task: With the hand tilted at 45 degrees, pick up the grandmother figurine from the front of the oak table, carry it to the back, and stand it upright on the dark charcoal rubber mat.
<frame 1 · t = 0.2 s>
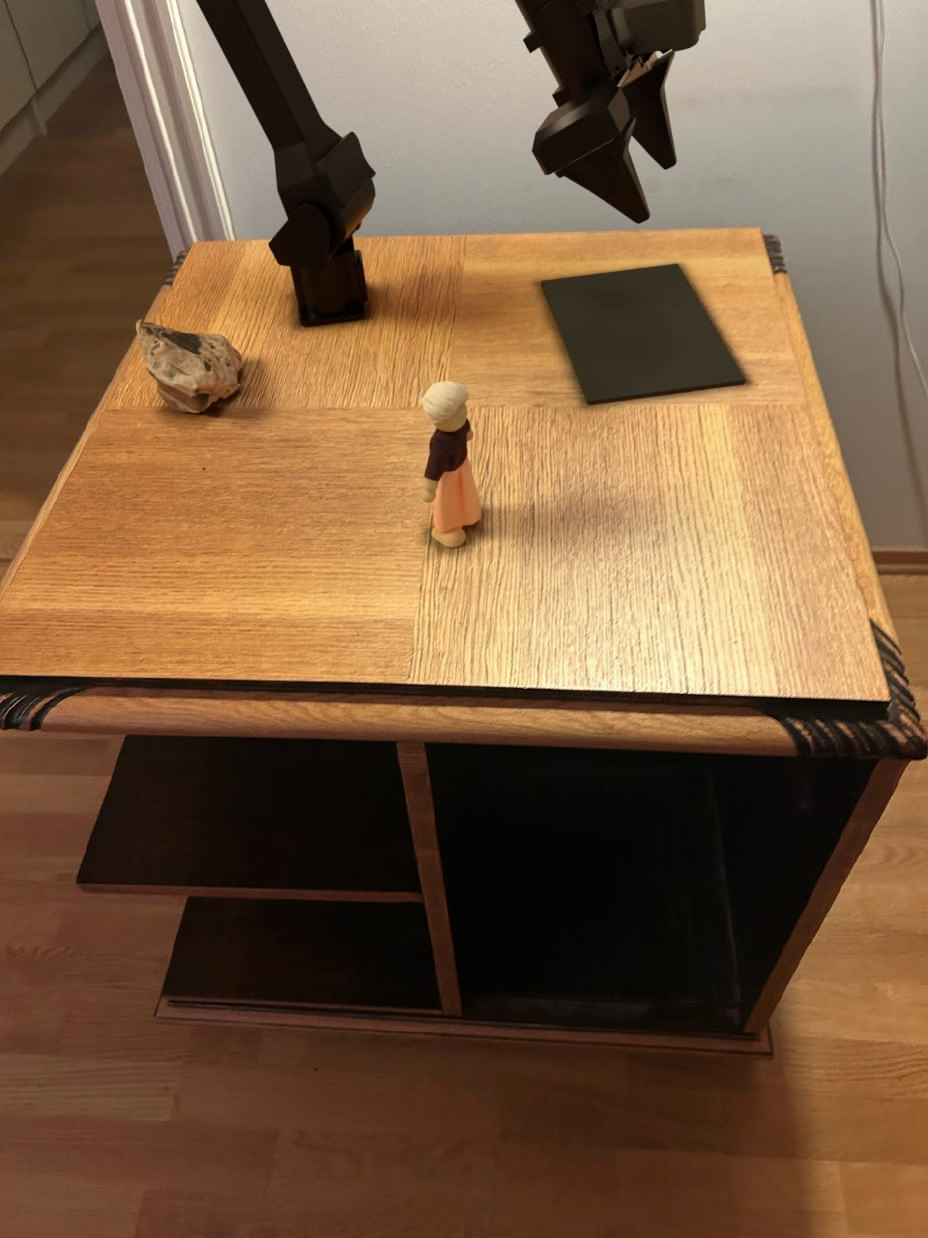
hand: (658, 192, 72), 15 cm above the cabinet, tool tilted 35°, fingers open, 9 cm apart
grandmother figurine: (457, 523, 71), on the cabinet
rock: (206, 395, 83), on the cabinet
mat: (635, 330, 86), on the cabinet
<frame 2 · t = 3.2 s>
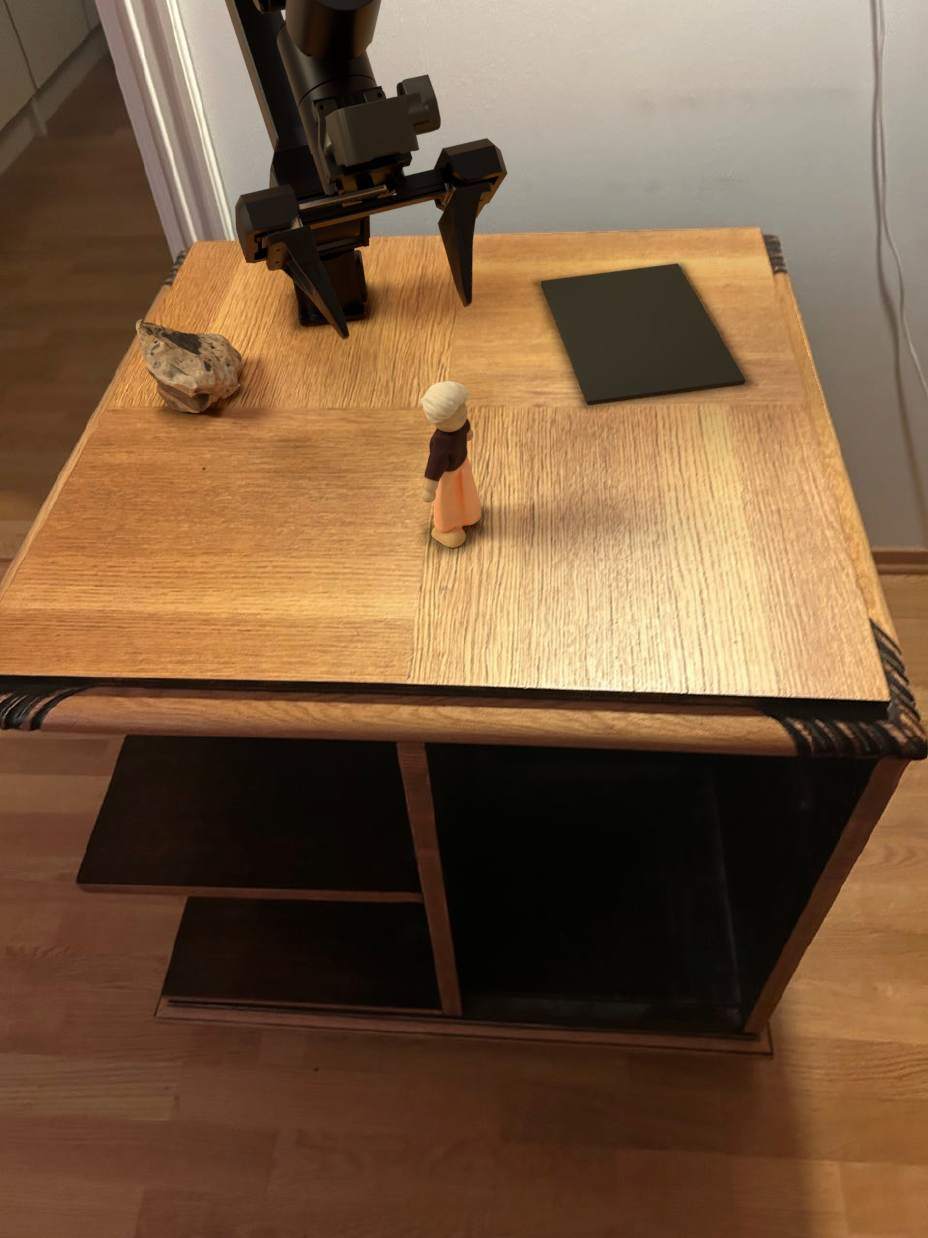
hand: (408, 321, 65), 13 cm above the cabinet, tool tilted 45°, fingers open, 9 cm apart
nothing on the cabinet moved.
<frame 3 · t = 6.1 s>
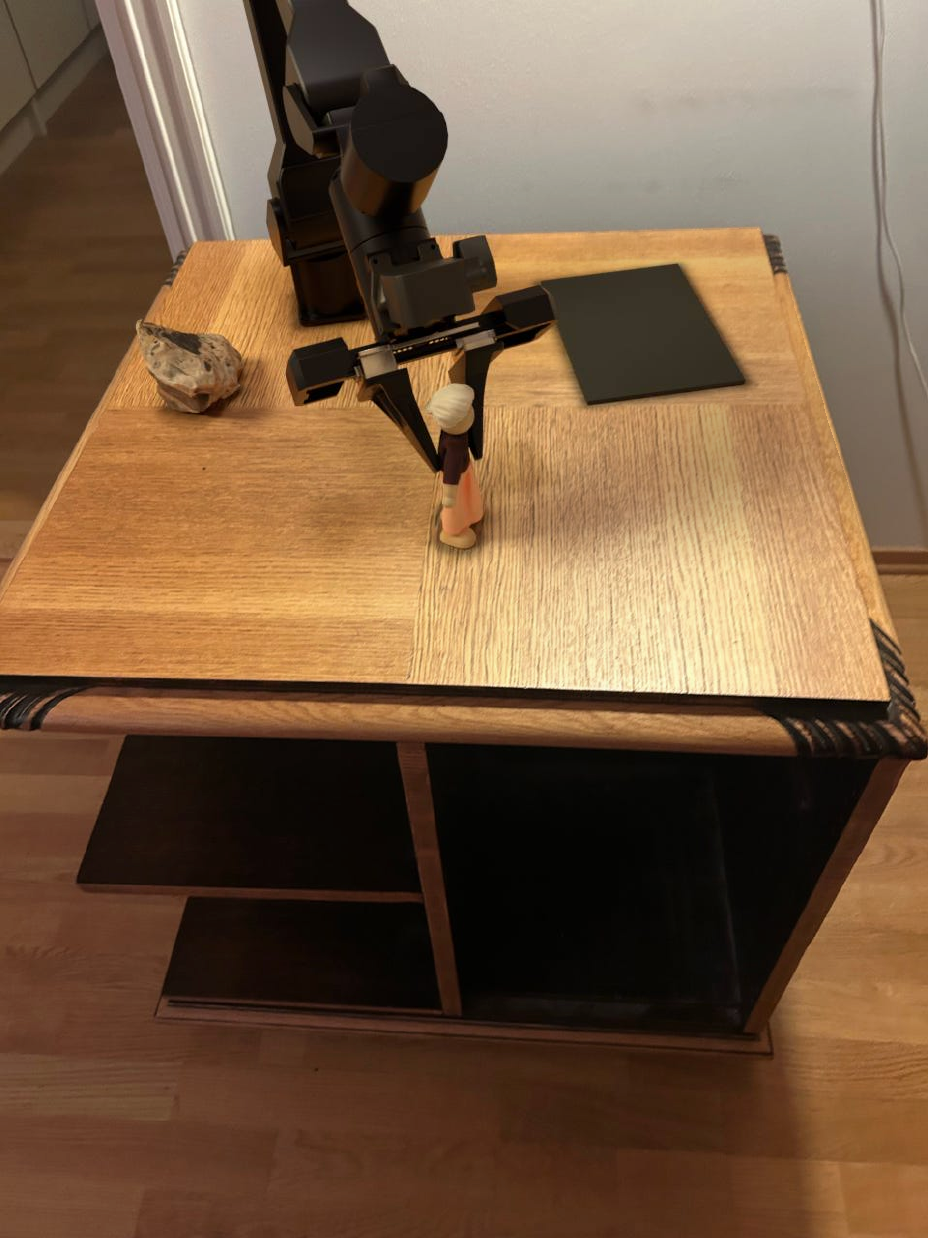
hand: (458, 465, 64), 7 cm above the cabinet, tool tilted 45°, fingers closed on grandmother figurine, 3 cm apart
grandmother figurine: (458, 524, 71), on the cabinet, touching gripper
everything else where it was.
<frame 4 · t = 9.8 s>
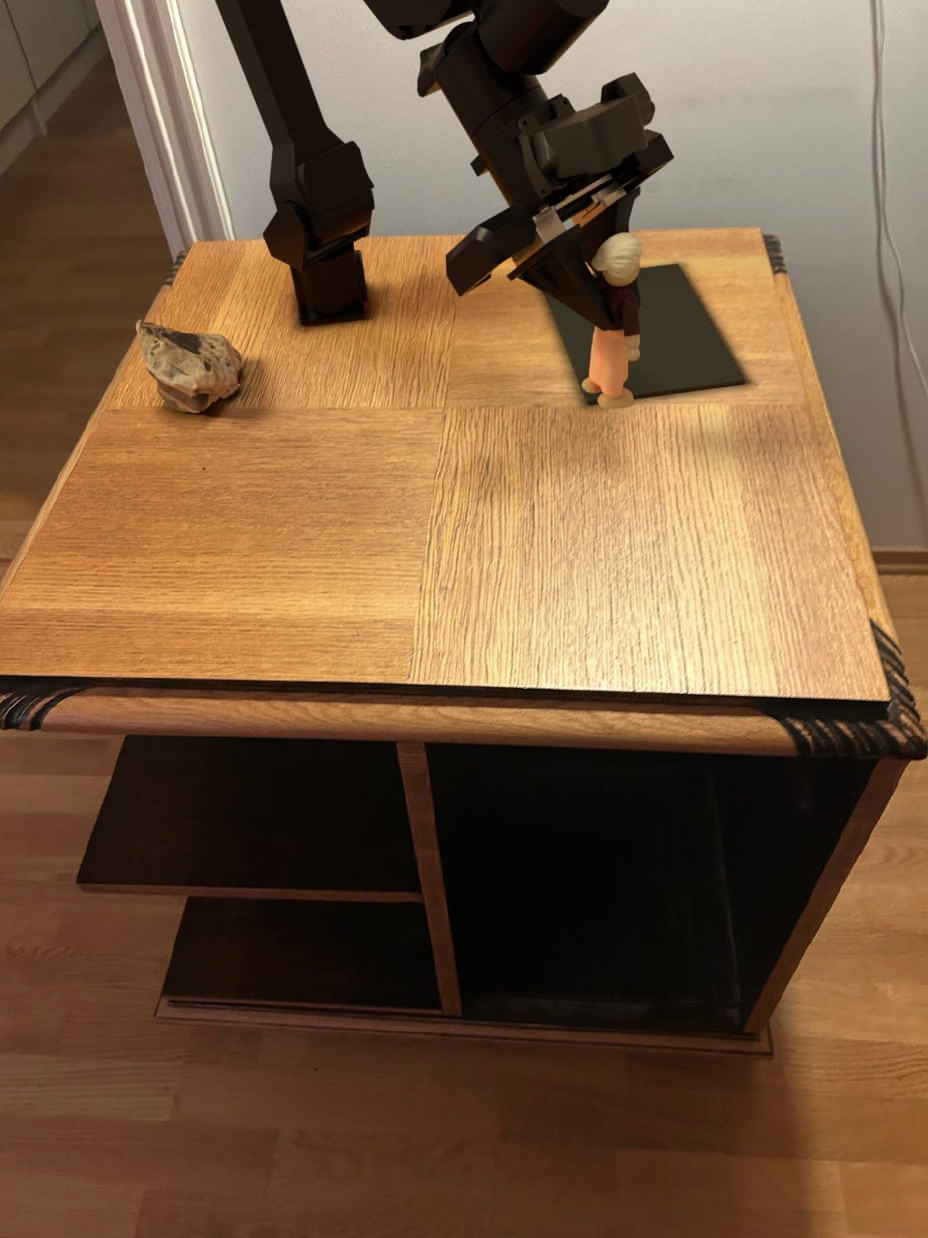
hand: (623, 319, 65), 12 cm above the cabinet, tool tilted 45°, fingers closed on grandmother figurine, 3 cm apart
grandmother figurine: (603, 390, 72), point 5 cm above the cabinet, touching gripper
everything else where it was.
when the fingers open (7 cm above the cabinet, at t = 13.6 s): grandmother figurine stays where it is, resting on mat.
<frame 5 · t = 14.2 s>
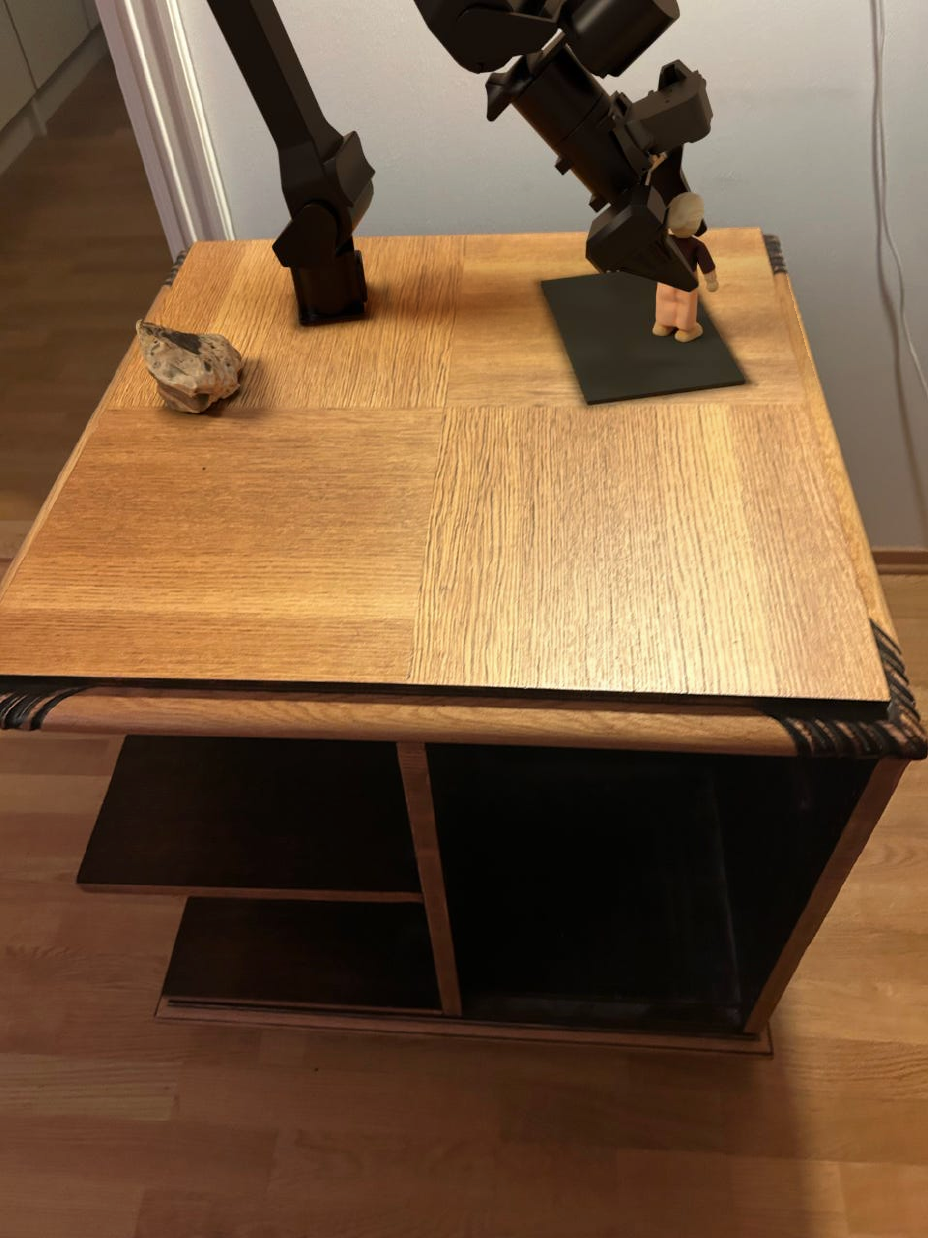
hand: (699, 259, 79), 8 cm above the cabinet, tool tilted 45°, fingers open, 9 cm apart
grandmother figurine: (670, 330, 85), resting on mat
everything else where it was.
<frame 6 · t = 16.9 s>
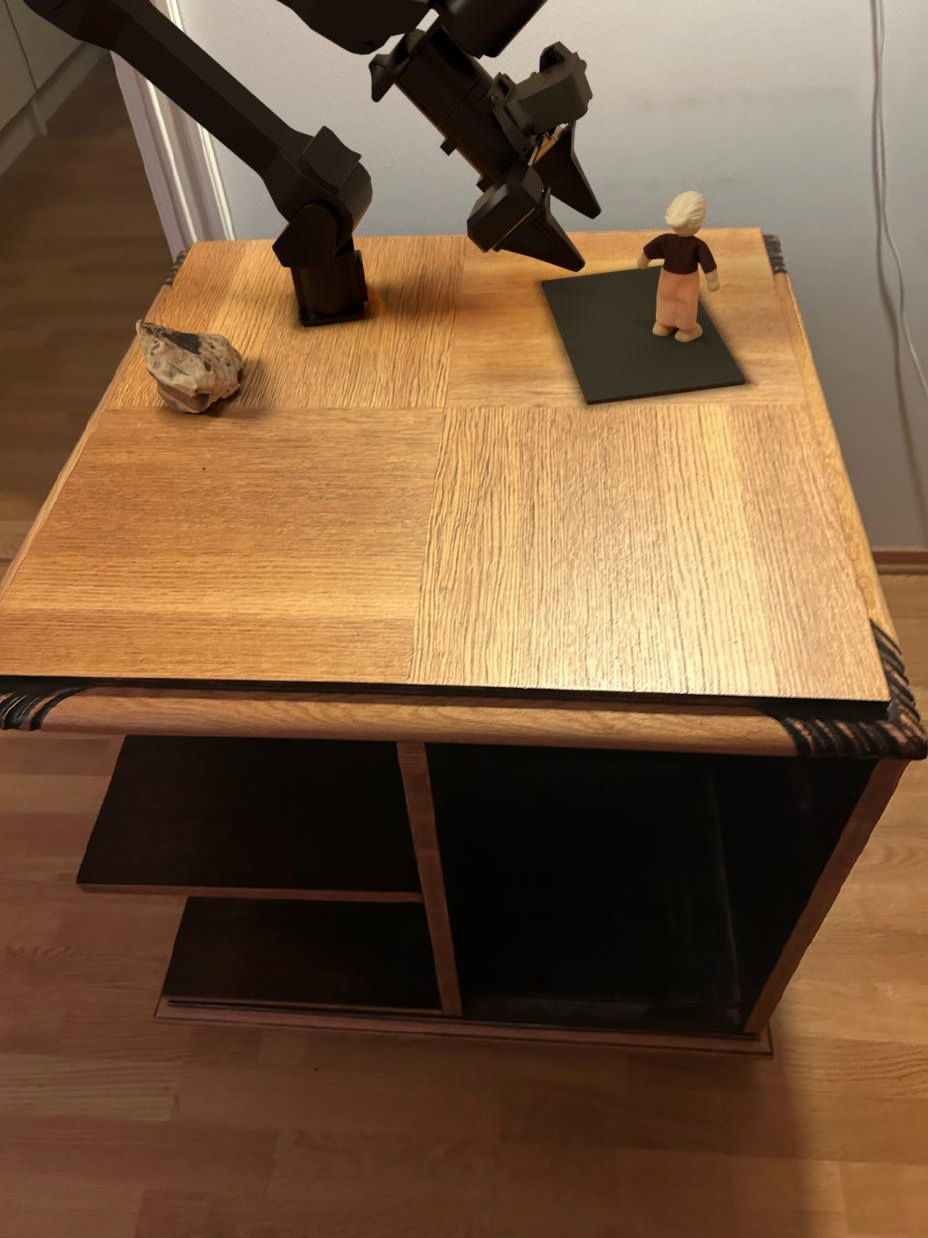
hand: (589, 240, 80), 9 cm above the cabinet, tool tilted 45°, fingers open, 9 cm apart
nothing on the cabinet moved.
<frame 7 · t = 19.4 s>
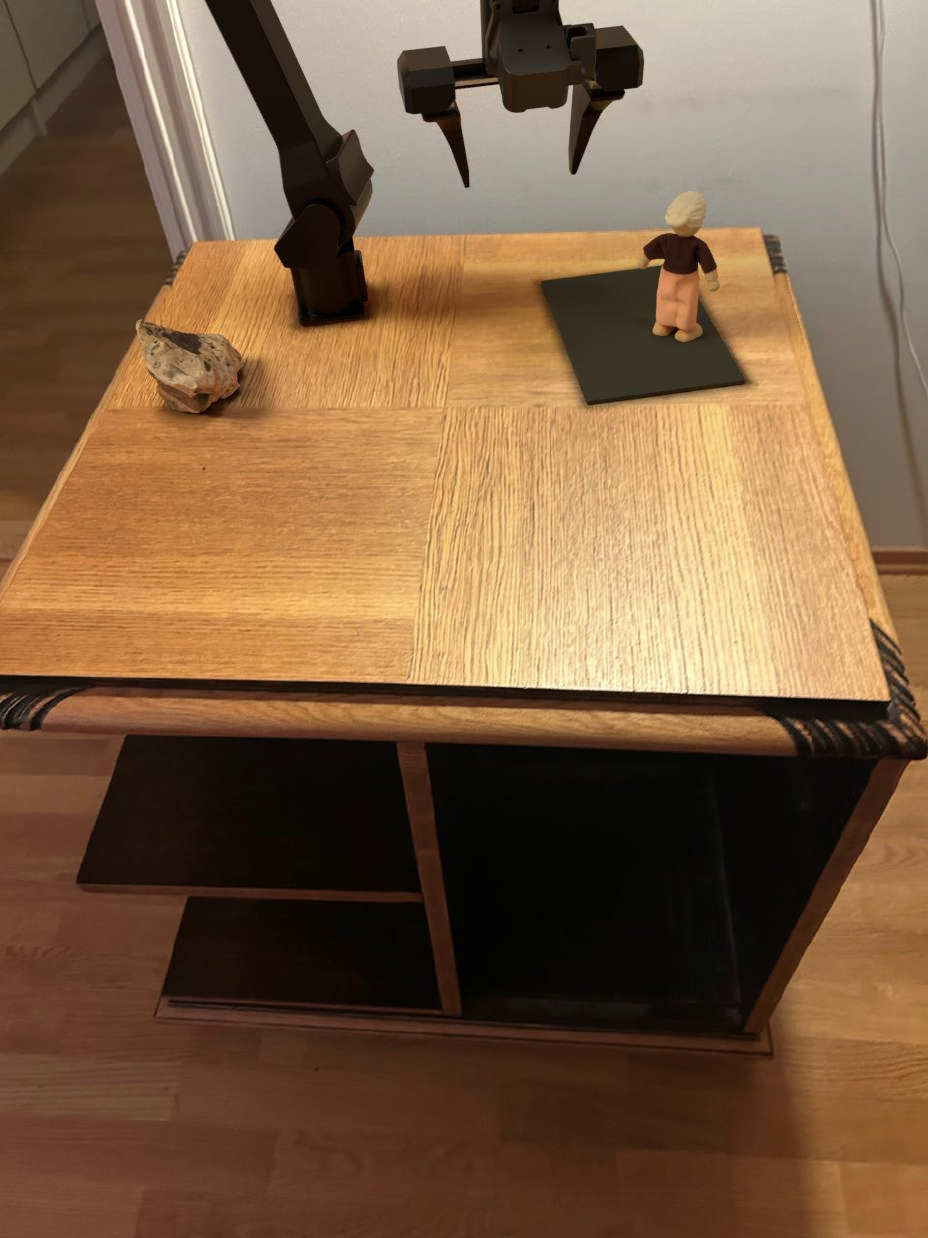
hand: (519, 179, 79), 13 cm above the cabinet, tool pointing down, fingers open, 9 cm apart
nothing on the cabinet moved.
at the end: grandmother figurine inside the target area on the mat (2.6 cm from its centre), point 0.2 cm above the mat's base; grandmother figurine tilted 0°; the gripper is holding nothing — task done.
